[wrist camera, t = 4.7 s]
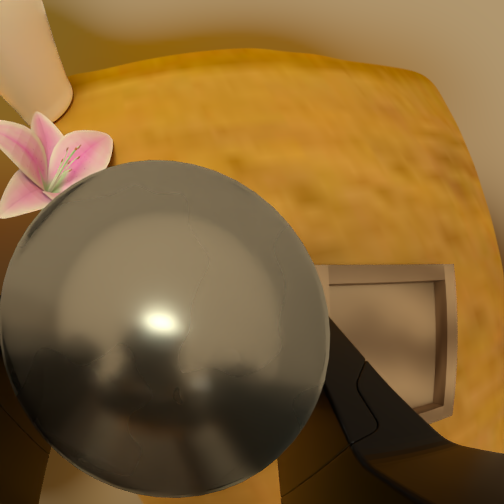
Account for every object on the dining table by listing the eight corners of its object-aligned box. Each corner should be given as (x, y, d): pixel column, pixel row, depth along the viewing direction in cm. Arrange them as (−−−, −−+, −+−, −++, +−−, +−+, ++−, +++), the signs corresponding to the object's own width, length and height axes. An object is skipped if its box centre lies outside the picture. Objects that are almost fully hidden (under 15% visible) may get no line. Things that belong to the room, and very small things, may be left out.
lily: (138, 299, 20) (168, 212, 13) (-17, 297, 14) (-68, 206, 7) (131, 175, 26) (158, 83, 19) (11, 170, 20) (6, 74, 13)
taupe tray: (435, 410, 20) (452, 415, 18) (300, 440, 19) (310, 452, 17) (436, 268, 23) (453, 264, 21) (300, 270, 21) (310, 264, 19)
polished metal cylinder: (246, 369, 14) (325, 487, 3) (148, 368, 13) (19, 465, 3) (244, 272, 15) (318, 164, 4) (148, 272, 14) (17, 172, 4)
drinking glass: (35, 85, 21) (-21, -18, 7) (90, 75, 22) (45, -50, 8) (12, 141, 20) (-73, 40, 5) (69, 133, 21) (-11, 1, 6)
